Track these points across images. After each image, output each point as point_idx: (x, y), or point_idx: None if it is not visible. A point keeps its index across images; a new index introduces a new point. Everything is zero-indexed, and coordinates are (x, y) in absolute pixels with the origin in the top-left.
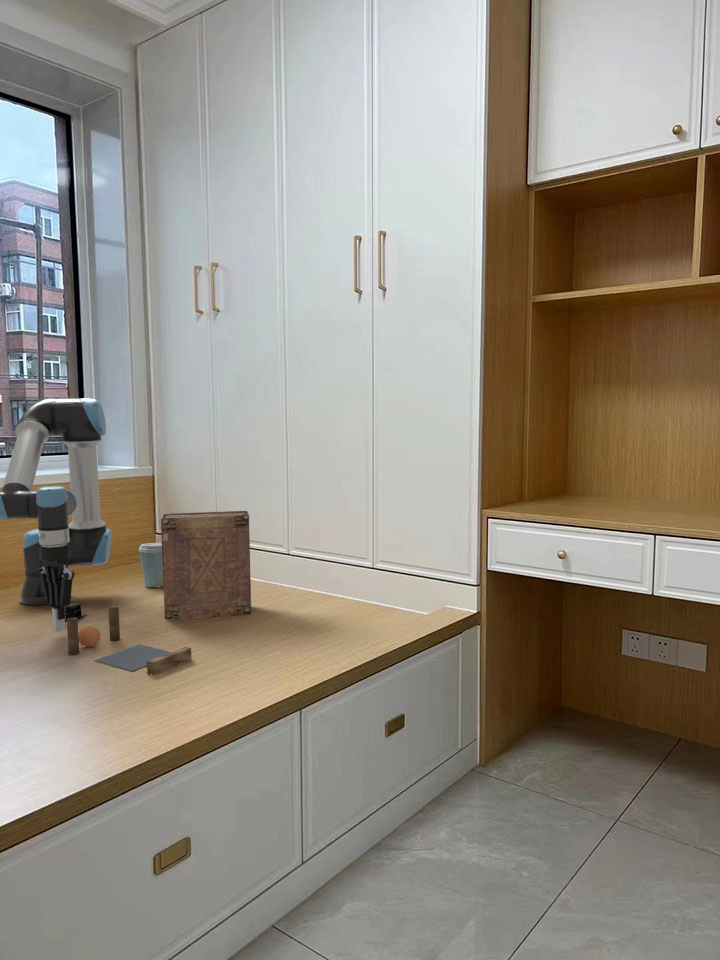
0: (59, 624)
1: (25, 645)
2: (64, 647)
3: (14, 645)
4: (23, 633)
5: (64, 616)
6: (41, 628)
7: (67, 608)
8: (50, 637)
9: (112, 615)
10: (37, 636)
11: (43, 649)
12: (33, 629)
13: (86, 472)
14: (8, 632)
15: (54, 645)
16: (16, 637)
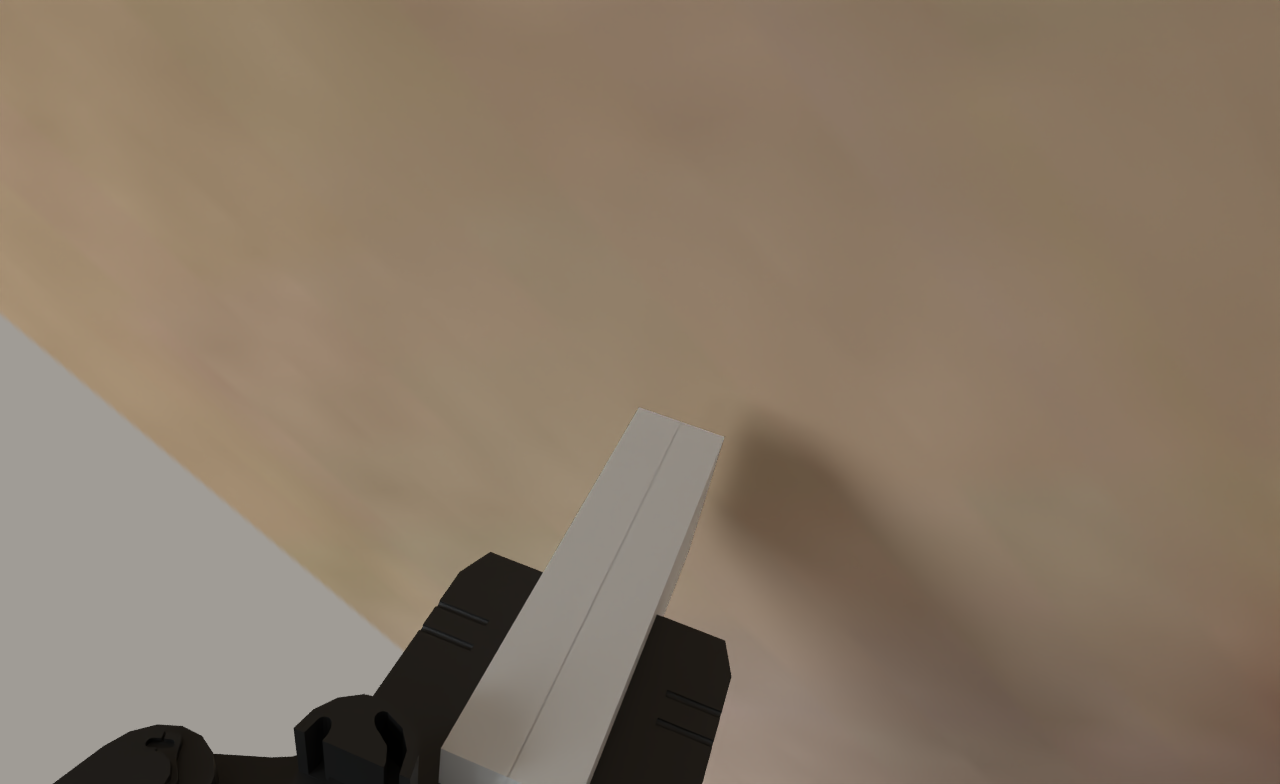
0: (672, 585)
1: None
2: (1036, 723)
3: None
4: (193, 360)
5: (723, 692)
6: (162, 139)
7: None
8: (583, 438)
9: None
10: (414, 426)
11: (825, 759)
12: (130, 205)
13: None
14: (52, 357)
15: (856, 667)
16: (264, 479)
